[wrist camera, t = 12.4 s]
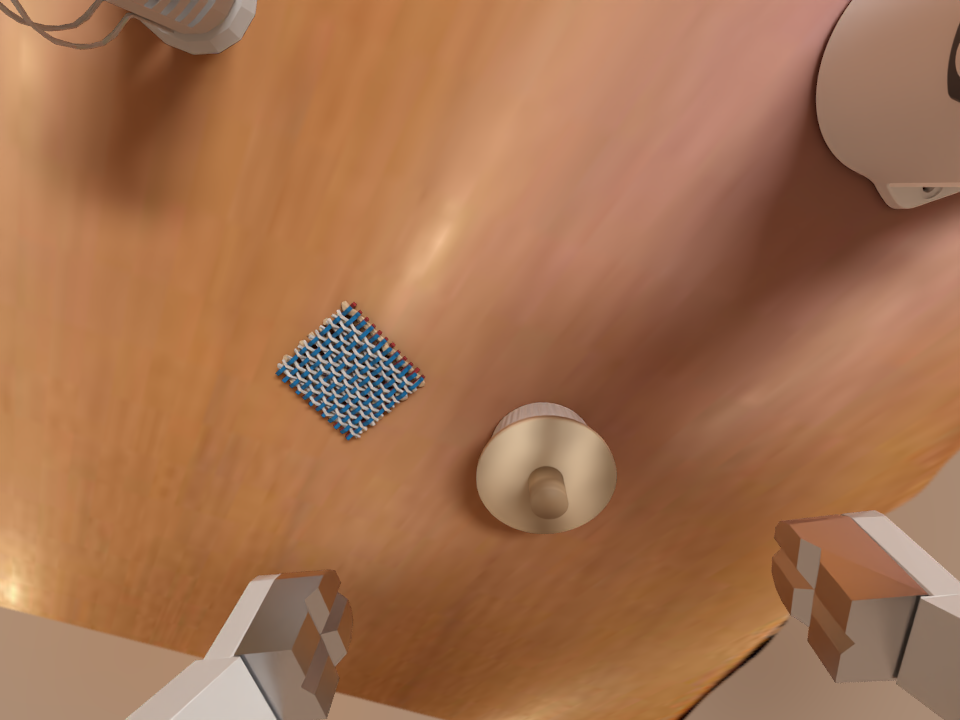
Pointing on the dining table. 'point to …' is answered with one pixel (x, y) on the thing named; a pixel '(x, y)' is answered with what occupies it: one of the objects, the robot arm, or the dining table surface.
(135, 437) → the dining table surface
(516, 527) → the drop lid
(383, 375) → the woven mat
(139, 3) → the french press
